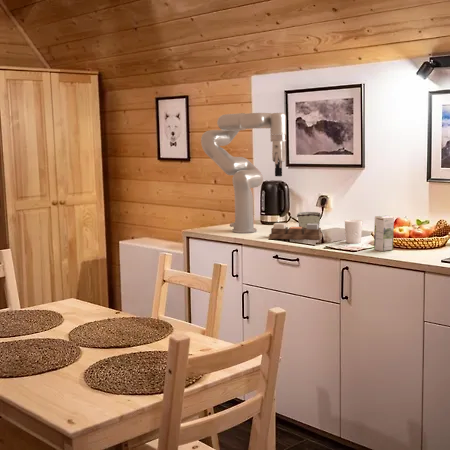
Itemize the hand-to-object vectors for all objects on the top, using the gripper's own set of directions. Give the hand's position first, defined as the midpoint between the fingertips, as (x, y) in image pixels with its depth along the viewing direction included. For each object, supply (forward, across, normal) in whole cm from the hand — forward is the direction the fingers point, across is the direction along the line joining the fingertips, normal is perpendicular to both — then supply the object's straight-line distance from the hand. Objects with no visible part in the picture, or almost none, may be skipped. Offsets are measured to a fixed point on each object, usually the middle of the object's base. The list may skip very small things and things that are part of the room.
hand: (278, 176), depth 338 cm
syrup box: (+29, -37, -52) cm, 71 cm away
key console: (+29, -8, -10) cm, 32 cm away
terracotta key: (+27, -8, -10) cm, 30 cm away
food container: (+29, +12, -13) cm, 34 cm away
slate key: (+25, -8, -18) cm, 32 cm away
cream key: (+25, -8, -2) cm, 27 cm away
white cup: (+29, -18, -38) cm, 51 cm away
